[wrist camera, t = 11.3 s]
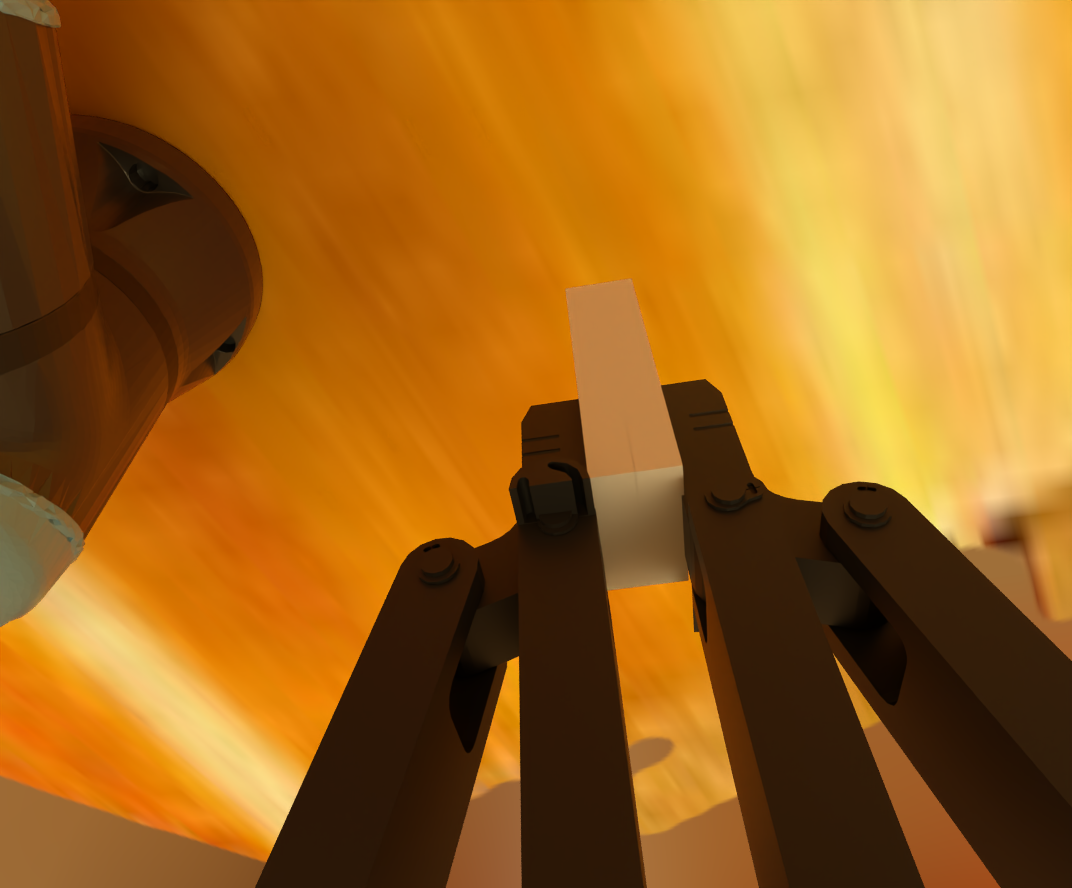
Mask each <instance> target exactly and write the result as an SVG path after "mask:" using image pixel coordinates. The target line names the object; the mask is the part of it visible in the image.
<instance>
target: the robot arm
mask: <svg viewBox="0 0 1072 888" xmlns="http://www.w3.org/2000/svg"><path fill="white" fill-rule="evenodd" d="M58 27H61V21H60V16H59V13H58V11H57V9H56V7H55V6H53V4H52V3H51V2H50V1H49V0H0V627H1V626H3V625H5V624H7V623H8V622H9V621H12V620H15V619H17V618H20V617H22V616H24V615H25V614H27V613H28V612H29V611H31V610H32V609H33V608H34V607H35V606H36V605H37V604H38V603H39V602H40V601H41V600H42V599H43V597H44V596H45V595H46V594H47V592H48V591H49V590H50V589H51V587H52V586H53V585H54V584H55V583H56V581H57V580H58V579H59V578H60V576H61V575H62V574H63V573H64V571H65V570H66V569H67V568H68V567H69V565H70V564H71V563H73V562H74V561H75V560H76V559H77V557H78V556H79V554H80V553H81V552H82V550H83V546H84V545H85V542H84V539H85V538H86V536H87V535H88V533H89V531H90V530H91V528H92V526H93V525H94V523H95V521H96V520H97V518H98V516H99V515H100V513H101V511H102V510H103V508H104V507H105V505H106V503H107V502H108V500H109V498H110V497H111V495H112V493H113V492H114V490H115V488H116V487H117V485H118V483H119V482H120V480H121V479H122V477H123V475H124V474H125V472H126V470H127V469H128V467H129V465H130V464H131V462H132V460H133V459H134V457H135V456H136V454H137V452H138V451H139V449H140V447H141V446H142V444H143V442H144V441H145V439H146V437H147V436H148V434H149V432H150V431H151V429H152V428H153V426H154V424H155V423H156V421H157V419H158V418H159V416H160V414H161V412H162V411H163V409H164V407H165V406H166V404H167V403H168V402H170V401H172V400H173V399H175V398H177V397H179V396H180V395H182V394H184V393H185V392H187V391H189V390H190V389H192V388H194V387H195V386H197V385H199V384H201V383H202V382H204V381H206V380H207V379H209V378H211V377H212V376H214V375H215V374H217V373H218V372H219V371H220V370H222V369H223V368H224V367H225V366H226V365H227V364H228V363H229V362H230V361H231V360H232V359H233V358H234V356H235V355H236V354H237V353H238V351H239V350H240V348H241V347H242V345H243V343H244V341H245V340H246V338H247V336H248V334H249V332H250V331H251V329H252V327H253V325H254V323H255V321H256V318H257V315H258V312H259V309H260V305H261V299H262V287H263V283H262V270H261V264H260V259H259V255H258V252H257V248H256V245H255V242H254V240H253V237H252V235H251V233H250V231H249V228H248V226H247V224H246V223H245V221H244V219H243V217H242V215H241V214H240V212H239V211H238V209H237V208H236V206H235V205H234V203H233V202H232V201H231V199H230V198H229V197H228V195H227V194H226V193H225V192H224V190H223V189H222V188H221V187H220V186H219V185H218V184H217V183H216V181H215V180H214V179H213V178H212V177H211V176H210V175H208V174H207V173H206V172H205V171H204V170H203V169H202V168H201V167H200V166H199V165H197V164H196V163H195V162H194V161H192V160H191V159H190V158H189V157H187V156H186V155H184V154H183V153H182V152H180V151H179V150H177V149H176V148H174V147H173V146H171V145H169V144H168V143H166V142H164V141H162V140H161V139H159V138H157V137H155V136H153V135H151V134H149V133H146V132H144V131H142V130H140V129H137V128H134V127H132V126H129V125H126V124H123V123H120V122H116V121H112V120H108V119H104V118H98V117H92V116H83V115H70V113H69V107H68V101H67V95H66V88H65V82H64V76H63V70H62V64H61V58H60V51H59V45H58V39H57V33H56V28H58ZM566 297H567V305H568V313H569V322H570V330H571V338H572V347H573V355H574V364H575V372H576V380H577V389H578V397H579V399H576V400H569V401H562V402H555V403H548V404H541V405H534V406H531V407H530V409H529V411H528V412H527V414H526V416H525V417H524V419H523V421H522V422H521V430H522V468H520V470H519V471H518V472H517V473H516V474H515V475H514V476H513V477H512V480H511V483H510V487H509V492H510V496H511V500H512V504H513V508H514V512H515V516H516V520H517V523H516V524H515V525H514V526H513V527H512V529H511V530H510V531H508V532H507V533H506V534H504V535H503V536H502V537H500V538H498V539H496V540H494V541H492V542H489V543H487V544H484V545H482V546H479V547H477V548H473V547H472V546H471V545H469V544H468V543H466V542H465V541H464V540H459V539H454V538H442V539H435V540H432V541H430V542H427V543H424V544H422V545H420V546H419V547H417V548H416V549H415V550H413V551H412V552H411V553H409V555H408V556H407V557H406V559H405V560H404V562H403V563H402V564H401V566H400V569H399V571H398V573H397V575H396V577H395V580H394V582H393V584H392V586H391V588H390V591H389V593H388V595H387V597H386V599H385V602H384V604H383V606H382V608H381V611H380V613H379V615H378V617H377V619H376V622H375V624H374V626H373V628H372V630H371V633H370V635H369V637H368V639H367V641H366V644H365V646H364V648H363V650H362V652H361V655H360V657H359V659H358V661H357V664H356V666H355V668H354V670H353V672H352V675H351V677H350V679H349V681H348V683H347V686H346V688H345V690H344V692H343V694H342V697H341V699H340V701H339V703H338V706H337V708H336V710H335V712H334V714H333V717H332V719H331V721H330V723H329V725H328V728H327V730H326V732H325V734H324V736H323V739H322V741H321V743H320V745H319V747H318V750H317V752H316V754H315V756H314V759H313V761H312V763H311V765H310V767H309V770H308V772H307V774H306V776H305V778H304V781H303V783H302V785H301V787H300V789H299V792H298V794H297V796H296V798H295V801H294V803H293V805H292V807H291V809H290V812H289V814H288V816H287V818H286V820H285V823H284V825H283V827H282V829H281V831H280V834H279V836H278V838H277V840H276V843H275V845H274V847H273V849H272V851H271V854H270V856H269V858H268V860H267V862H266V865H265V867H264V869H263V871H262V874H261V876H260V878H259V880H258V882H257V884H256V887H255V888H446V884H447V881H448V877H449V874H450V870H451V866H452V863H453V859H454V856H455V852H456V848H457V845H458V841H459V837H460V834H461V830H462V827H463V823H464V819H465V816H466V812H467V809H468V805H469V802H470V798H471V794H472V791H473V787H474V784H475V780H476V776H477V773H478V769H479V766H480V762H481V758H482V755H483V751H484V748H485V744H486V740H487V737H488V733H489V730H490V726H491V722H492V719H493V715H494V712H495V708H496V704H497V701H498V697H499V694H500V690H501V686H502V683H503V679H504V676H505V672H506V668H507V661H509V660H511V659H513V658H516V657H518V656H519V689H520V777H521V857H522V858H521V862H522V863H521V864H522V888H647V886H646V878H645V871H644V863H643V856H642V847H641V840H640V832H639V825H638V817H637V809H636V802H635V794H634V786H633V779H632V771H631V764H630V757H629V748H628V741H627V733H626V726H625V718H624V710H623V703H622V695H621V688H620V680H619V672H618V665H617V657H616V650H615V642H614V634H613V627H612V619H611V612H610V605H609V599H608V591H607V590H614V589H622V588H630V587H638V586H646V585H655V584H663V583H671V582H679V581H687V580H688V570H689V575H690V579H691V583H692V596H693V618H694V632H699V633H700V637H701V642H702V646H703V650H704V654H705V659H706V663H707V667H708V671H709V676H710V680H711V684H712V689H713V693H714V697H715V701H716V706H717V710H718V714H719V718H720V723H721V727H722V731H723V736H724V740H725V744H726V748H727V753H728V757H729V761H730V765H731V770H732V774H733V778H734V783H735V787H736V791H737V795H738V800H739V804H740V808H741V812H742V816H743V821H744V825H745V829H746V833H747V838H748V842H749V846H750V851H751V855H752V860H753V863H754V868H755V872H756V877H757V881H758V885H759V888H925V887H924V885H923V882H922V879H921V877H920V874H919V872H918V869H917V867H916V864H915V861H914V859H913V856H912V854H911V851H910V849H909V846H908V844H907V841H906V839H905V836H904V833H903V831H902V828H901V826H900V823H899V821H898V818H897V816H896V813H895V811H894V808H893V806H892V803H891V800H890V798H889V795H888V793H887V790H886V788H885V785H884V783H883V780H882V778H881V775H880V772H879V770H878V767H877V765H876V762H875V760H874V757H873V755H872V752H871V750H870V747H869V744H868V742H867V739H866V737H865V734H864V732H863V729H862V727H861V724H860V721H859V719H858V716H857V714H856V711H855V709H854V706H853V704H852V701H851V699H850V696H849V693H848V691H847V688H846V686H845V683H844V681H843V678H842V676H841V673H840V671H839V668H838V665H837V663H836V660H835V658H834V655H835V657H836V658H837V659H838V661H839V662H840V664H841V665H842V666H843V668H844V669H845V671H846V672H847V673H848V675H849V676H850V678H851V679H852V680H853V682H854V683H855V685H856V686H857V687H858V689H859V690H860V692H861V693H862V694H863V696H864V697H865V699H866V700H867V701H868V703H869V704H870V706H871V707H872V708H873V710H874V711H875V713H876V714H877V715H878V717H879V718H880V720H881V721H882V722H883V724H884V725H885V727H886V728H887V729H888V731H889V732H890V734H891V735H892V736H893V738H894V739H895V741H896V742H897V743H898V745H899V746H900V747H901V749H902V750H903V752H904V753H905V755H906V756H907V757H908V759H909V760H910V761H911V763H912V764H913V766H914V767H915V769H916V770H917V771H918V773H919V774H920V775H921V777H922V778H923V780H924V781H925V782H926V784H927V785H928V787H929V788H930V789H931V791H932V792H933V794H934V795H935V796H936V798H937V799H938V801H939V802H940V803H941V805H942V806H943V808H944V809H945V810H946V812H947V813H948V814H949V816H950V817H951V819H952V820H953V822H954V823H955V824H956V826H957V827H958V829H959V830H960V831H961V833H962V834H963V835H964V837H965V838H966V840H967V841H968V843H969V844H970V845H971V847H972V848H973V850H974V851H975V852H976V854H977V855H978V856H979V858H980V859H981V861H982V862H983V863H984V865H985V866H986V868H987V869H988V871H989V872H990V873H991V875H992V876H993V877H994V879H995V880H996V882H997V883H998V885H999V886H1000V887H1001V888H1072V661H1071V660H1070V659H1069V658H1068V657H1067V656H1066V655H1065V654H1064V653H1063V652H1062V651H1061V650H1060V649H1059V648H1058V647H1057V646H1056V645H1055V644H1054V643H1053V642H1052V641H1051V640H1049V638H1048V637H1047V636H1046V635H1045V634H1044V633H1042V632H1041V631H1040V630H1039V629H1038V628H1037V627H1036V626H1035V625H1034V624H1033V623H1032V622H1031V621H1030V620H1029V619H1028V618H1027V617H1026V616H1025V615H1024V614H1023V613H1022V612H1021V611H1020V610H1019V609H1018V608H1017V607H1016V606H1015V605H1014V604H1013V603H1012V602H1011V601H1010V600H1009V599H1008V598H1007V597H1006V596H1005V595H1004V594H1003V593H1002V592H1000V590H999V589H998V588H997V587H996V586H995V585H993V583H992V582H991V581H989V580H988V579H987V578H986V577H985V576H984V575H983V574H982V573H981V572H980V571H979V570H978V569H977V568H976V567H975V566H974V565H973V564H972V563H971V562H970V561H969V560H968V559H967V558H966V557H965V556H964V555H963V554H962V553H961V552H960V551H959V550H958V549H957V548H956V547H955V546H954V545H953V544H952V543H951V542H950V541H949V540H948V539H947V538H946V537H945V536H944V535H943V534H942V533H941V532H940V531H939V530H938V529H937V528H936V527H935V526H934V525H933V524H931V523H930V522H929V521H928V520H927V519H926V518H925V517H924V516H923V515H922V514H921V513H920V512H919V511H918V510H917V509H916V508H915V507H914V506H913V505H912V504H911V503H910V502H909V501H908V500H907V499H906V498H905V497H903V496H902V495H901V494H899V493H898V492H896V491H895V490H893V489H891V488H888V487H886V486H883V485H880V484H877V483H869V482H853V483H847V484H842V485H840V486H838V487H836V488H834V489H832V490H830V491H829V493H828V494H827V495H826V497H825V498H824V499H823V502H814V501H804V500H796V499H791V498H785V497H783V496H780V495H777V494H774V493H772V492H771V491H769V490H768V489H767V488H766V486H765V485H764V484H763V482H762V481H760V480H759V479H757V478H755V477H754V475H753V474H752V471H751V469H750V466H749V463H748V461H747V458H746V456H745V453H744V450H743V448H742V445H741V443H740V440H739V437H738V435H737V432H736V429H735V427H734V426H733V422H732V419H731V416H730V414H729V412H728V409H727V406H726V403H725V401H724V398H723V395H722V393H721V392H720V391H719V390H718V389H717V388H715V387H714V386H713V385H712V384H711V383H709V382H708V381H707V380H706V379H703V380H696V381H689V382H682V383H675V384H668V385H660V381H659V377H658V374H657V370H656V366H655V363H654V359H653V355H652V352H651V348H650V345H649V341H648V337H647V334H646V330H645V326H644V323H643V319H642V315H641V312H640V308H639V304H638V301H637V297H636V294H635V290H634V286H633V283H632V279H625V280H619V281H612V282H606V283H599V284H593V285H587V286H580V287H574V288H567V289H566ZM832 652H833V653H832ZM833 654H834V655H833Z"/></svg>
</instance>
